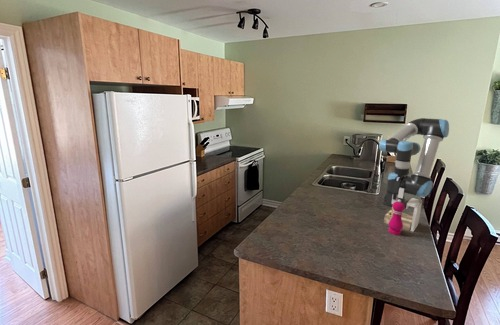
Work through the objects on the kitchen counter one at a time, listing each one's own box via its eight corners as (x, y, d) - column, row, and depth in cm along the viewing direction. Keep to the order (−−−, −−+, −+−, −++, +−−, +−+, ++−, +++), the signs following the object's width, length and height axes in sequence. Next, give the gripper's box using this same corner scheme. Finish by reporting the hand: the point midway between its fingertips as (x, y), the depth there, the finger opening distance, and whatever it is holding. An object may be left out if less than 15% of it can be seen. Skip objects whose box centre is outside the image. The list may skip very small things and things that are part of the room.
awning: (407, 222, 167) (411, 197, 163) (418, 224, 163) (422, 200, 160) (402, 228, 158) (406, 203, 155) (413, 231, 155) (417, 205, 151)
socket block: (389, 216, 174) (390, 209, 173) (414, 223, 165) (415, 216, 163) (383, 222, 165) (384, 215, 164) (409, 230, 156) (410, 222, 155)
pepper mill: (394, 236, 149) (399, 202, 145) (384, 230, 156) (389, 197, 151) (404, 234, 151) (410, 201, 146) (394, 228, 158) (399, 196, 153)
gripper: (400, 162, 170) (396, 194, 175) (388, 170, 152) (384, 205, 158) (414, 164, 165) (409, 196, 170) (403, 173, 147) (398, 209, 153)
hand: (397, 201), depth 164 cm, fingers open, 13 cm apart
